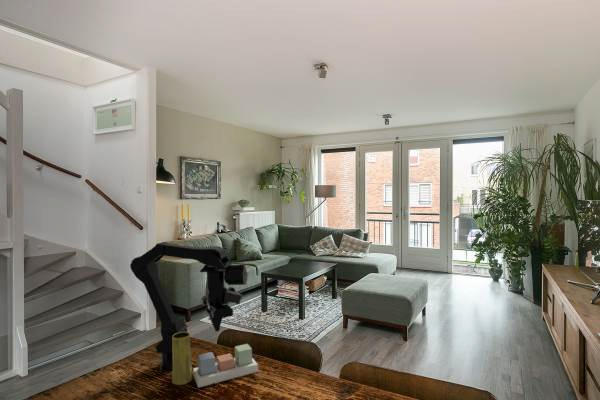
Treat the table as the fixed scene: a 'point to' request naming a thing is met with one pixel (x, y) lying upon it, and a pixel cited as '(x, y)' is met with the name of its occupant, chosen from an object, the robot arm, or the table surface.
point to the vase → (181, 358)
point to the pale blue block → (206, 364)
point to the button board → (224, 374)
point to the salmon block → (225, 362)
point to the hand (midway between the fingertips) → (217, 331)
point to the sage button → (243, 355)
